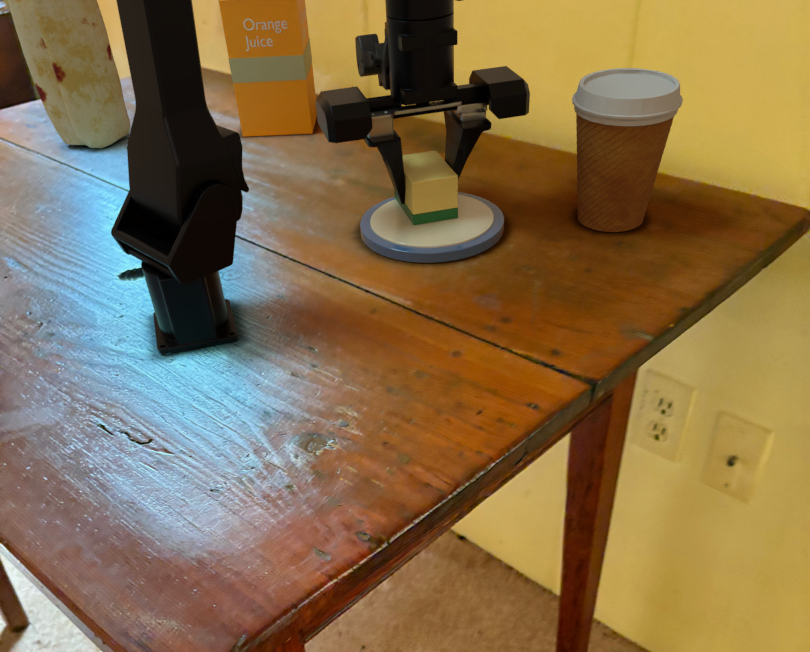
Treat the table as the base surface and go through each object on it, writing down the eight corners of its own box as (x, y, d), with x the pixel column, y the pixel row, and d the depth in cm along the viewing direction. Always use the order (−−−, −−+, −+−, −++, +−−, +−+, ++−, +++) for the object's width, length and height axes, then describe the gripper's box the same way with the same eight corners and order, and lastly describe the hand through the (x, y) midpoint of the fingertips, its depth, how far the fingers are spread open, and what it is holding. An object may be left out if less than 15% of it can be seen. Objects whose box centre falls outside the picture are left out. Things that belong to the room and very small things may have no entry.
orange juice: (312, 133, 99) (288, -68, 85) (241, 137, 99) (206, -63, 85) (318, 112, 104) (296, -80, 90) (251, 115, 105) (219, -76, 90)
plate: (525, 248, 75) (526, 235, 74) (380, 273, 73) (379, 261, 72) (476, 191, 84) (476, 180, 84) (346, 212, 82) (345, 200, 81)
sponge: (458, 218, 77) (458, 175, 74) (413, 225, 77) (411, 182, 74) (436, 190, 82) (435, 149, 79) (394, 197, 81) (392, 156, 79)
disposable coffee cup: (678, 214, 78) (706, 77, 70) (625, 249, 74) (648, 108, 65) (596, 190, 83) (612, 60, 75) (541, 222, 78) (551, 87, 70)
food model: (133, 128, 103) (81, -64, 89) (137, 145, 99) (83, -54, 85) (55, 139, 102) (-11, -55, 87) (55, 158, 97) (-14, -44, 83)
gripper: (492, -19, 75) (488, 156, 86) (294, 5, 72) (316, 183, 83) (537, 7, 67) (526, 196, 78) (318, 35, 64) (339, 226, 75)
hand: (425, 198), depth 79 cm, fingers closed on sponge, 4 cm apart
